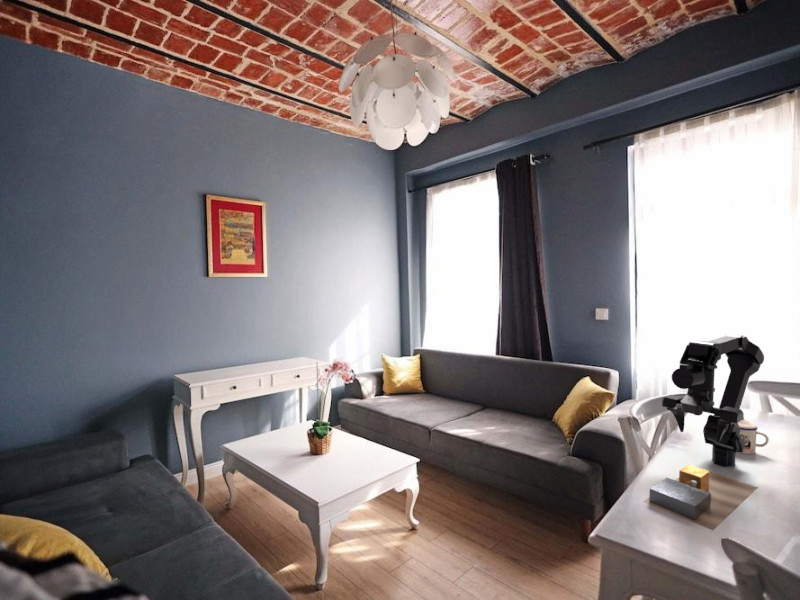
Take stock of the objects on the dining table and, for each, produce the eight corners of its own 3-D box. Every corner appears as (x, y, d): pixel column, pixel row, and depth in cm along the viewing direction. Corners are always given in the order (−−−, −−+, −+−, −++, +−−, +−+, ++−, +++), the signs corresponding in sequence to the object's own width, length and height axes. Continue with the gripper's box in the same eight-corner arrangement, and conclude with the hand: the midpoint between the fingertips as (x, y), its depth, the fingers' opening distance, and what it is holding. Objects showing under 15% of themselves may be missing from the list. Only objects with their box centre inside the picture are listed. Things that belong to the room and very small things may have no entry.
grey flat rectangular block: (684, 477, 119) (685, 465, 118) (727, 492, 110) (727, 479, 110) (649, 501, 106) (649, 488, 106) (694, 520, 98) (695, 506, 98)
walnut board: (694, 470, 125) (694, 466, 125) (757, 491, 113) (757, 487, 113) (643, 505, 106) (643, 501, 106) (712, 535, 94) (713, 530, 94)
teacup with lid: (720, 449, 141) (721, 415, 140) (724, 441, 147) (725, 409, 147) (766, 460, 132) (768, 424, 132) (769, 451, 139) (770, 417, 138)
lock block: (687, 481, 116) (688, 464, 116) (708, 489, 112) (709, 471, 112) (678, 487, 113) (679, 470, 112) (700, 495, 109) (700, 477, 108)
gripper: (654, 381, 123) (653, 432, 124) (731, 396, 108) (728, 454, 109) (670, 376, 130) (669, 425, 131) (745, 389, 114) (742, 444, 115)
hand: (699, 436), depth 121 cm, fingers open, 9 cm apart
